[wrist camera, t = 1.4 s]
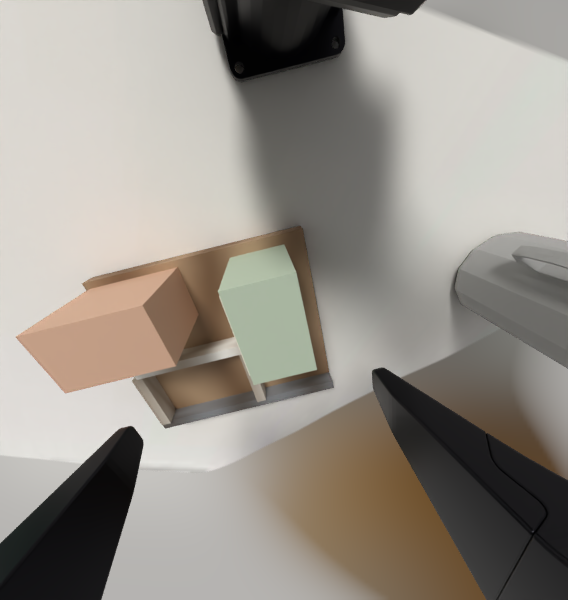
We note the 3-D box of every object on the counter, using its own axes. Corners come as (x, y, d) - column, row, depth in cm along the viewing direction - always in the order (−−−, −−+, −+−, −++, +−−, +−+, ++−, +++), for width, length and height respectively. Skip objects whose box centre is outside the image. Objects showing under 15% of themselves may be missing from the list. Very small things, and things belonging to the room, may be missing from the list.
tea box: (284, 244, 17) (296, 272, 12) (301, 319, 20) (316, 369, 15) (227, 258, 18) (215, 292, 12) (252, 331, 20) (251, 385, 15)
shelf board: (299, 225, 18) (306, 232, 16) (327, 370, 25) (334, 391, 22) (92, 277, 18) (67, 292, 16) (173, 407, 25) (164, 432, 22)
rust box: (89, 289, 17) (15, 337, 12) (177, 266, 17) (142, 305, 12) (119, 335, 19) (66, 395, 14) (199, 316, 19) (177, 368, 14)
